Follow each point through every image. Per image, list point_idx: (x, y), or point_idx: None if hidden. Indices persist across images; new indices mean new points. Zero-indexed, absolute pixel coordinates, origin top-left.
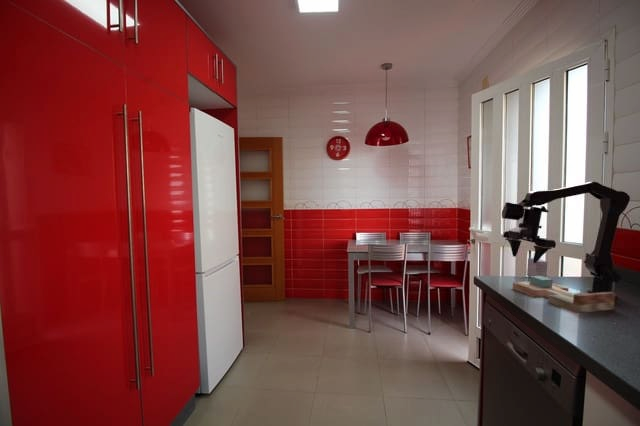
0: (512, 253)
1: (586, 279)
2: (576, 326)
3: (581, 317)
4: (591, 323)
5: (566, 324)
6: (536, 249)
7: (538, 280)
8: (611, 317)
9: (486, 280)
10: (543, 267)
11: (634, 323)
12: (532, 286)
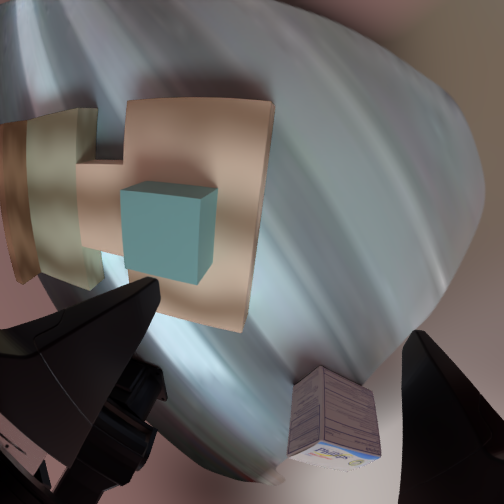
0: (440, 349)
1: (257, 458)
2: (20, 47)
3: (27, 102)
4: (14, 95)
5: (30, 32)
6: (3, 343)
7: (147, 189)
8: None
9: (436, 122)
10: (298, 428)
11: None
12: (173, 148)
